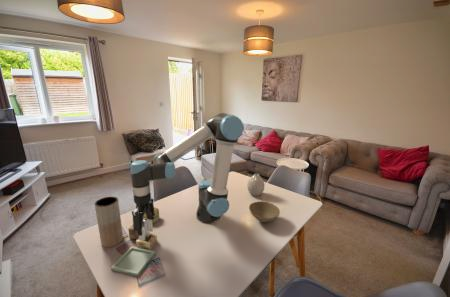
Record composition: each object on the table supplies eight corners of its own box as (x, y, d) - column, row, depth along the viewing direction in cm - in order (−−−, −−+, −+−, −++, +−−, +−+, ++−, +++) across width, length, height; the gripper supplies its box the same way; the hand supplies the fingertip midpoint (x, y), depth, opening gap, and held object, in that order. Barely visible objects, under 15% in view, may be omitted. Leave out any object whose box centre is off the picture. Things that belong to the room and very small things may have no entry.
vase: (265, 198, 148) (266, 177, 144) (247, 198, 149) (248, 177, 144) (262, 191, 161) (263, 171, 157) (246, 190, 161) (247, 171, 157)
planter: (108, 233, 109) (102, 195, 103) (126, 234, 109) (121, 196, 103) (96, 247, 99) (89, 206, 94) (116, 247, 99) (110, 206, 93)
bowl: (284, 220, 123) (285, 208, 121) (268, 234, 110) (269, 221, 108) (259, 208, 135) (259, 198, 133) (242, 220, 122) (242, 208, 120)
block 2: (157, 241, 104) (156, 234, 103) (149, 250, 98) (148, 243, 97) (145, 238, 106) (144, 232, 105) (136, 248, 99) (135, 241, 98)
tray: (155, 253, 96) (155, 251, 95) (137, 276, 83) (137, 273, 83) (131, 248, 99) (131, 246, 98) (111, 270, 86) (110, 267, 86)
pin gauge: (151, 242, 103) (149, 218, 99) (148, 247, 100) (145, 222, 96) (146, 241, 103) (143, 218, 100) (142, 245, 101) (139, 221, 97)
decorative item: (149, 230, 118) (157, 219, 115) (136, 220, 118) (144, 208, 115) (157, 221, 127) (165, 211, 124) (145, 211, 127) (153, 201, 124)
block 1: (149, 232, 111) (148, 222, 109) (141, 240, 104) (140, 230, 103) (138, 230, 112) (137, 220, 111) (129, 238, 106) (128, 228, 104)
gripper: (147, 183, 104) (150, 222, 110) (120, 202, 86) (126, 247, 92) (160, 185, 103) (163, 224, 108) (135, 204, 85) (140, 250, 90)
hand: (146, 235), depth 100 cm, fingers open, 6 cm apart
